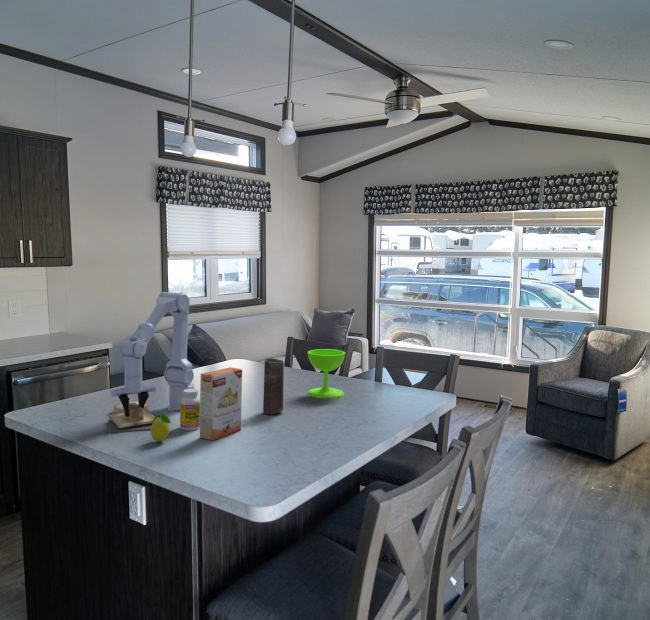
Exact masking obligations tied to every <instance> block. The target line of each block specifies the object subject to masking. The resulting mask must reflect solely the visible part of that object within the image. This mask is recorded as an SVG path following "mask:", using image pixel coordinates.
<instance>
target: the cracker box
mask: <svg viewBox="0 0 650 620" xmlns="http://www.w3.org/2000/svg"><path fill="white" fill-rule="evenodd" d="M199 387H200V389H199V390H200V392H199V393H200V395H199V396H200V397H199V398H200V428H199V438H201V439H205V440H208V441H215V440H217V439H220V438H223V437H226V436H229V435H231V434H234V433H237V432H239V431H241V430H242V402H243V401H242V393H243V391H242V390H243V369H242V368H235V367H232V366H231V367H226V368H221V369H217V370H211V371H207V372H203V373H200V385H199Z"/></svg>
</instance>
